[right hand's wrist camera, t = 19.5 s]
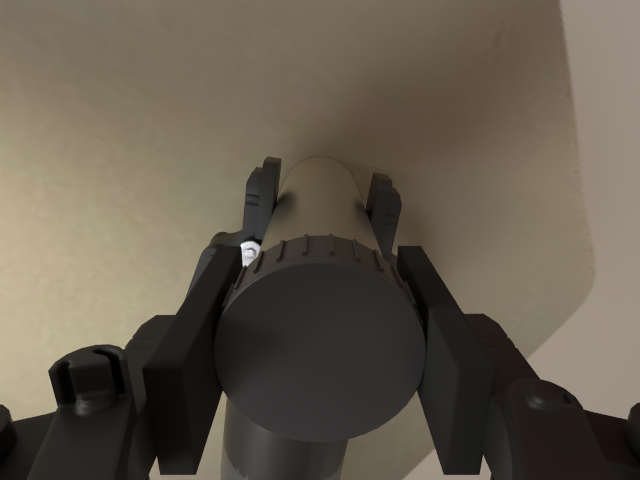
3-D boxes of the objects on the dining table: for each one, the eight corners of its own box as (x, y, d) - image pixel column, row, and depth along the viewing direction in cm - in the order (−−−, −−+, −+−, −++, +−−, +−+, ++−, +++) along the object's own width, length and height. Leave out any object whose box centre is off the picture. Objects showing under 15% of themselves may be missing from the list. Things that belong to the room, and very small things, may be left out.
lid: (344, 192, 11) (349, 212, 9) (448, 340, 12) (469, 381, 11) (186, 301, 12) (162, 338, 10) (300, 424, 13) (297, 474, 12)
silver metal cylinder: (295, 236, 28) (263, 427, 12) (273, 167, 26) (205, 287, 11) (364, 218, 27) (422, 392, 12) (346, 147, 26) (387, 240, 10)
